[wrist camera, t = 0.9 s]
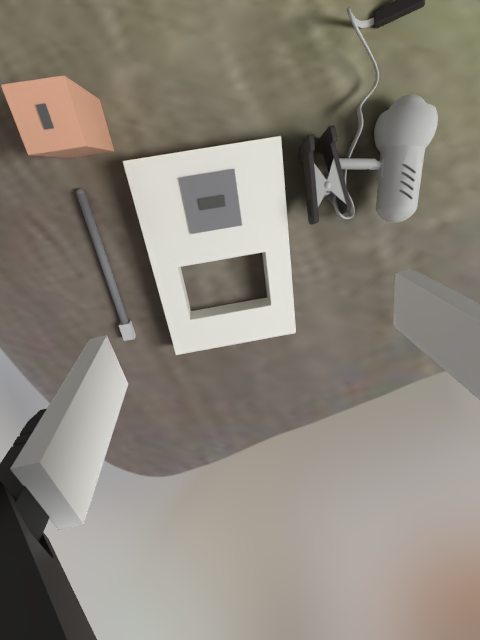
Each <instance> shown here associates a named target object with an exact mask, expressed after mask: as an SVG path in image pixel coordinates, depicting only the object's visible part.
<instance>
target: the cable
mask: <svg viewBox="0 0 480 640" xmlns="http://www.w3.org/2000/svg"><path fill="white" fill-rule="evenodd" d="M76 195H77V198H78V201H79V204H80V207H81V209H82V212H83V215H84V218H85V221H86V224H87V227H88V230H89V232H90V235H91V238H92V241H93V244H94V247H95V250H96V253H97V255H98V258H99V261H100V264H101V267H102V270H103V273H104V276H105V278H106V281H107V284H108V287H109V290H110V293H111V296H112V298H113V301H114V304H115V307H116V310H117V313H118V316H119V319H120V321H121V322H120V324H119V328H120V331H121V334H122V337H123V339H124V341H127V340H132V339H135V336H136V334H135V331H134V328H133V325H132V322H131V320H129V321H128V319H127V316H126V313H125V310H124V307H123V304H122V301H121V298H120V295H119V292H118V289H117V286H116V283H115V280H114V277H113V274H112V271H111V268H110V265H109V262H108V259H107V256H106V253H105V250H104V247H103V244H102V241H101V238H100V235H99V232H98V229H97V226H96V223H95V221H94V218H93V215H92V212H91V209H90V206H89V203H88V200H87V197H86V194H85V191H84V190H82V189H78V190H77V191H76Z"/></svg>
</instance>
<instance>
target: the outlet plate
mask: <svg viewBox="0 0 480 640" xmlns="http://www.w3.org/2000/svg"><path fill="white" fill-rule="evenodd" d="M123 164H124V168H125V172H126V175H127V179H128V182H129V186H130V190H131V193H132V197H133V201H134V204H135V208H136V211H137V215H138V219H139V222H140V226H141V230H142V233H143V237H144V240H145V244H146V248H147V251H148V255H149V259H150V262H151V266H152V269H153V273H154V277H155V280H156V284H157V288H158V291H159V295H160V298H161V302H162V306H163V309H164V313H165V317H166V320H167V324H168V327H169V331H170V335H171V338H172V342H173V346H174V349H175V353H176V355H179V354H184V353H190V352H195V351H200V350H206V349H211V348H217V347H222V346H227V345H233V344H238V343H244V342H249V341H255V340H260V339H265V338H271V337H276V336H282V335H287V334H292V333H296V327H295V314H294V301H293V287H292V274H291V261H290V248H289V235H288V221H287V208H286V195H285V182H284V169H283V156H282V142H281V136H277V137H271V138H265V139H259V140H252V141H246V142H240V143H233V144H227V145H221V146H215V147H208V148H202V149H196V150H189V151H183V152H177V153H170V154H164V155H158V156H152V157H145V158H139V159H133V160H126V161H123ZM256 253H262V257H263V265H264V274H265V283H266V291H267V298H261V299H255V300H250V301H244V302H239V303H233V304H228V305H222V306H217V307H211V308H205V309H200V310H194V311H191V309H190V305H189V301H188V297H187V292H186V288H185V284H184V280H183V275H182V271H181V266H187V265H193V264H198V263H204V262H210V261H216V260H221V259H227V258H233V257H239V256H245V255H250V254H256Z"/></svg>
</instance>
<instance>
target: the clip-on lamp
mask: <svg viewBox="0 0 480 640" xmlns="http://www.w3.org/2000/svg"><path fill="white" fill-rule="evenodd" d="M424 5H425V0H397V1H394V2H392V3H390V4H388V5H386V6H384V7H382V8H380V9H378V10H376V11H375V12H374V17H373V18H371V19H368V20H363V21H361V20H358V19H356V18H355V17H354V16H353V14H352V12H351V10H350V7H348V8H347V12H348V15H349V18H350V20H351V23H352V25H353V27H354V29H355V31H356V33H357V35H358V36H359V38H360V40H361V42H362V43H363V45H364V47H365V49H366V50H367V52H368V54H369V56H370V58H371V60H372V62H373V65H374V69H375V72H376V77H375V82H374V85H373V87H372V89H371V90H370V92H369V93H368V94H367V95H366V97H365V98H364V99H363V100H362V102H361V103H360V104H359V106H358V108H357V116H358V120H359V127H358V130H357V133H356V135H355V138H354V140H353V142H352V144H351V146H350V148H349V151H348V154H347V156H346V158H339V157H338V153H337V149H336V146H335V142H336V141H337V134H336V129H335V126H334V125H333V126H330V127H328V129H327V130H326V131H325V132H324V134H323V135H322V136H321V138H320V139H319V140H318V144H319V150H320V154H323V156H324V159H325V163H326V167H325V171H324V174H323V175H322V173H321V172H320V170H319V169H318V168H317V166H316V165H315V164H314V157H313V152H314V150H315V143H314V136H313V134H312V135H308V136H307V137H306V139H305V141H304V142H303V144H302V145H301V147H300V160H301V162H303V169H304V180H305V190H306V201H307V211H308V220H309V223H310V224H315V223H318V222H319V214H318V207H319V205H320V203H321V201H322V199H323V197H326V198H327V199H329V200H330V201H331V202H332V203H333V206H334V209H335V211H336V213H337V215H338V216H340V217H341V218H344V219H351V218H352V217H353V216H354V213H355V208H354V203H353V201H352V199H351V197H350V195H349V193H348V191H347V187H346V173H347V169H352V170H378V173H377V180H378V190H377V203H376V210H377V213H378V215H379V216H380V217H381V218H382V219H383V220H385V221H388V222H401V221H404V220H406V219H408V218H409V217H410V216H411V215H412V214H413V213H414V212H415V211H416V209H417V204H418V197H419V189H420V182H421V174H422V167H423V159H424V152H425V148H426V147H427V145H428V144H429V143H430V141H431V140H432V138H433V136H434V134H435V131H436V128H437V123H438V115H437V111H436V108H435V107H434V106H433V105H430V104H426V102H425V101H424V100H423V99H422V98H421V97H420V96H417V95H406V96H403V97H401V98H399V99H398V100H396V101H395V102H394V103H393V104H392V106H391V107H390V109H389V110H387V111H385V112H383V113H382V114H381V115H380V116H379V118H378V120H377V122H376V125H375V130H374V138H375V143H376V146H377V148H378V150H379V151H380V160H379V161H376V159H366V158H350V156H351V154H352V151H353V149H354V147H355V144H356V142H357V140H358V138H359V136H360V134H361V131H362V128H363V116H362V112H361V107H362V105H363V103H364V102H365V100H366V99H367V98H368V97H369V96H370V95H371V93H372V92H373V91H374V89H375V88H376V86H377V83H378V81H379V71H378V68H377V64H376V62H375V60H374V57H373V55H372V53H371V51H370V49H369V47H368V45H367V44H366V42H365V40H364V38H363V36H362V34H361V32H360V31H359V28H367V27H370V26H373V25H375V27H376V28H379V27H381V26H383V25H385V24H388V23H390V22H392V21H394V20H396V19H398V18H400V17H402V16H405V15H407V14H409V13H411V12H413V11H415V10H417V9H419V8H422V7H423V6H424ZM358 27H359V28H358ZM342 169H343V172H342ZM350 211H351V212H350ZM347 212H350V214H349V215H348V216H343V215H342V214H343V213H347Z"/></svg>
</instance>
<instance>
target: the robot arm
mask: <svg viewBox="0 0 480 640" xmlns="http://www.w3.org/2000/svg"><path fill="white" fill-rule="evenodd" d="M393 326H394V327H395V328H397V329H398V330H399V331H400V332H401V333H402V334H404V335H405V336H406V337H407V338H408V339H409V340H411V341H412V342H413V343H414V344H415V345H416V346H418V347H419V348H420V349H421V350H422V351H423V352H424V353H426V354H427V355H428V356H429V357H430V358H431V359H433V360H434V361H435V362H436V363H437V364H438V365H440V366H441V367H442V368H443V369H444V370H445V371H447V372H448V373H449V374H450V375H451V376H452V377H454V378H455V379H456V380H457V381H458V382H459V383H461V384H462V385H463V386H464V387H465V388H466V389H468V390H469V391H470V392H471V393H472V394H473V395H475V396H476V397H477V398H478V399H479V400H480V304H479V303H477V302H475V301H473V300H471V299H470V298H468V297H466V296H464V295H462V294H460V293H458V292H456V291H454V290H452V289H450V288H448V287H446V286H444V285H442V284H440V283H439V282H437V281H435V280H433V279H431V278H429V277H427V276H425V275H423V274H421V273H419V272H417V271H415V270H413V269H410V270H405V271H400V272H396V275H395V298H394V320H393ZM127 386H128V383H127V380H126V378H125V376H124V373H123V371H122V369H121V367H120V364H119V362H118V360H117V358H116V355H115V353H114V351H113V349H112V346H111V344H110V342H109V340H108V337H107V335H106V336H102V337H97V338H93V339H89V341H88V343H87V344H86V346H85V347H84V349H83V351H82V352H81V354H80V356H79V357H78V359H77V361H76V362H75V364H74V365H73V367H72V369H71V370H70V372H69V374H68V375H67V377H66V378H65V380H64V382H63V383H62V385H61V387H60V388H59V390H58V392H57V393H56V395H55V396H54V398H53V400H52V401H51V403H50V405H49V406H48V408H47V409H43V410H40V411H39V412H38V413H37V414H36V415H34V416H33V417H32V418H31V419H30V420H29V421H28V422H27V424H26V425H25V427H24V428H23V430H22V431H21V433H20V436H18V437H17V439H16V440H15V442H14V444H13V447H11V448H10V450H9V451H8V453H7V454H6V456H5V457H4V459H3V460H2V462H1V463H0V640H97V639H96V637H95V635H94V633H93V631H92V628H91V626H90V624H89V622H88V620H87V618H86V616H85V614H84V612H83V610H82V608H81V606H80V604H79V601H78V599H77V598H76V595H75V593H74V591H73V589H72V587H71V585H70V583H69V581H68V579H67V576H66V574H65V572H64V570H63V568H62V566H61V564H60V562H59V560H58V558H57V556H56V554H55V552H54V549H53V547H52V545H51V543H50V541H49V539H48V538H47V536H46V535H45V534H44V533H43V531H44V529H45V527H46V524H47V522H48V519H50V520H51V522H52V523H53V524H54V526H55V527H56V528H57V529H58V530H61V529H65V528H69V527H74V526H78V525H82V524H84V521H85V518H86V515H87V512H88V509H89V506H90V503H91V499H92V496H93V493H94V490H95V487H96V484H97V480H98V477H99V474H100V471H101V468H102V465H103V462H104V459H105V455H106V452H107V449H108V446H109V443H110V440H111V437H112V433H113V430H114V427H115V424H116V421H117V418H118V415H119V411H120V408H121V405H122V402H123V399H124V396H125V393H126V389H127Z"/></svg>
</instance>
